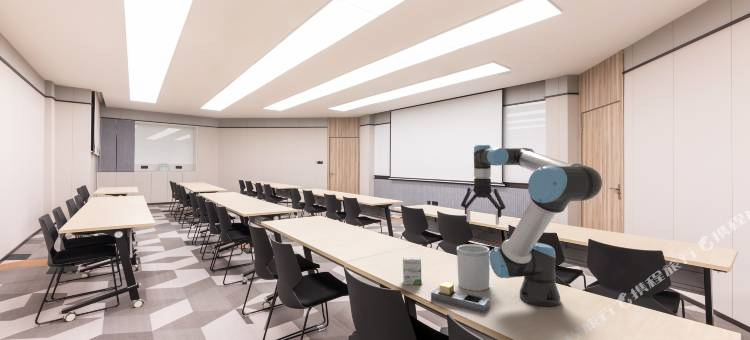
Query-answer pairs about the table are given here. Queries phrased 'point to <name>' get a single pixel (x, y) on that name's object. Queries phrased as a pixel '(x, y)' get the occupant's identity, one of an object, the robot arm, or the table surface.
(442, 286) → the block
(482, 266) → the utensil holder
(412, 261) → the ink box
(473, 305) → the grey slotted tray
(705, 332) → the table surface
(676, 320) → the table surface
